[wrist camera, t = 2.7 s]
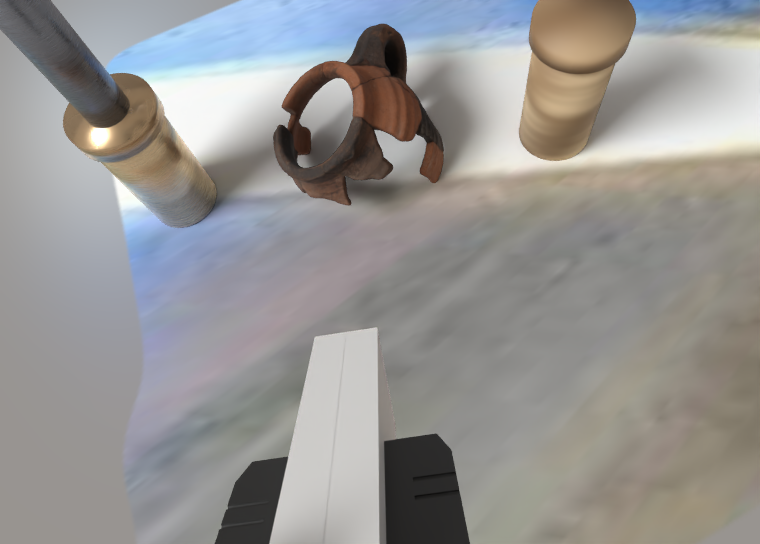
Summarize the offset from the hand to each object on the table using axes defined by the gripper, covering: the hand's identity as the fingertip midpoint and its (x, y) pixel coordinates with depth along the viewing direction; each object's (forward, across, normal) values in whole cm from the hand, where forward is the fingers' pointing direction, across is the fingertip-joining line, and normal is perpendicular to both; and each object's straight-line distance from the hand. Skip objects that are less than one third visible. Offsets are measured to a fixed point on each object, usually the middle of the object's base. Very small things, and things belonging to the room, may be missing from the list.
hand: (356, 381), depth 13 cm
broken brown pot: (+27, +1, +2) cm, 27 cm away
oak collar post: (+25, +12, +1) cm, 28 cm away
